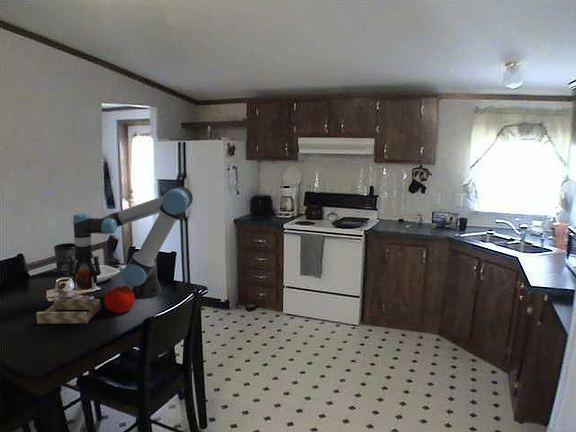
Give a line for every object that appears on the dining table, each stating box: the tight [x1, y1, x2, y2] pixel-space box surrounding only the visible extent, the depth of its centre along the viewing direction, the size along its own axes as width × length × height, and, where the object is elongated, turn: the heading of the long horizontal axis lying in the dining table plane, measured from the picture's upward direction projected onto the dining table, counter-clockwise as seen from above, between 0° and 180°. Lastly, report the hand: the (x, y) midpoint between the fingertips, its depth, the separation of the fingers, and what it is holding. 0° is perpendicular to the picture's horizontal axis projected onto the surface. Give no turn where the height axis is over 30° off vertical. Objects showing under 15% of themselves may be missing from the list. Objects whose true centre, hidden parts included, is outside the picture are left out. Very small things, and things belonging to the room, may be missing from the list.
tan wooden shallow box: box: [35, 298, 102, 324], centre depth 189 cm, size 21×16×5 cm
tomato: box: [103, 285, 136, 314], centre depth 196 cm, size 13×14×12 cm
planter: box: [53, 242, 77, 275], centre depth 248 cm, size 13×13×18 cm
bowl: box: [73, 264, 121, 284], centre depth 237 cm, size 22×23×6 cm
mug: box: [75, 265, 95, 291], centre depth 203 cm, size 12×9×10 cm
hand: (85, 288), depth 204 cm, fingers closed on mug, 7 cm apart
